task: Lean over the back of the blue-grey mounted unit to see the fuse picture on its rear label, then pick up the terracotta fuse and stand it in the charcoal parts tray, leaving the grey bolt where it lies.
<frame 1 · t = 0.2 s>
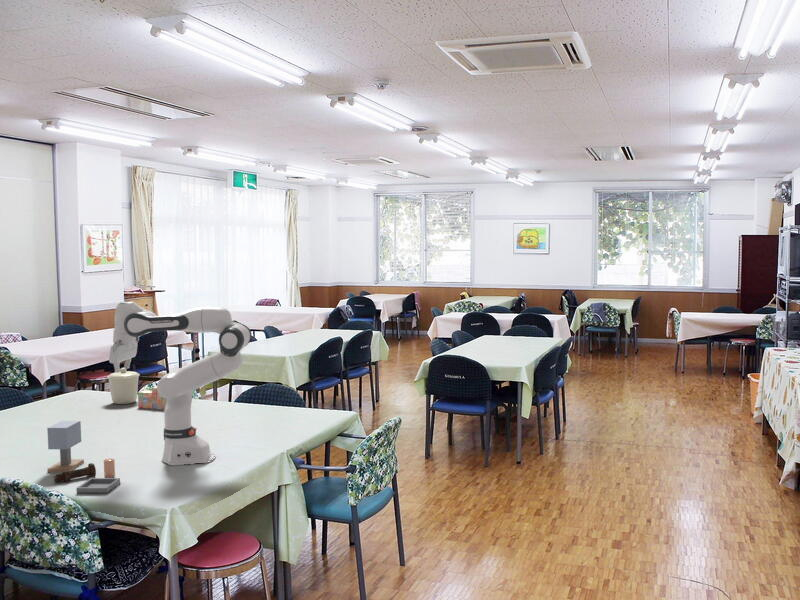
hand: (122, 370, 310), 39 cm above the table, tool pointing down, fingers open, 8 cm apart
mounted unit: (66, 467, 302), on the table
canister: (124, 403, 428), on the table
bolt: (74, 480, 287), on the table
terracotta fuse: (109, 476, 289), on the table
stack of blocks: (157, 408, 414), on the table
parts tray: (98, 488, 275), on the table
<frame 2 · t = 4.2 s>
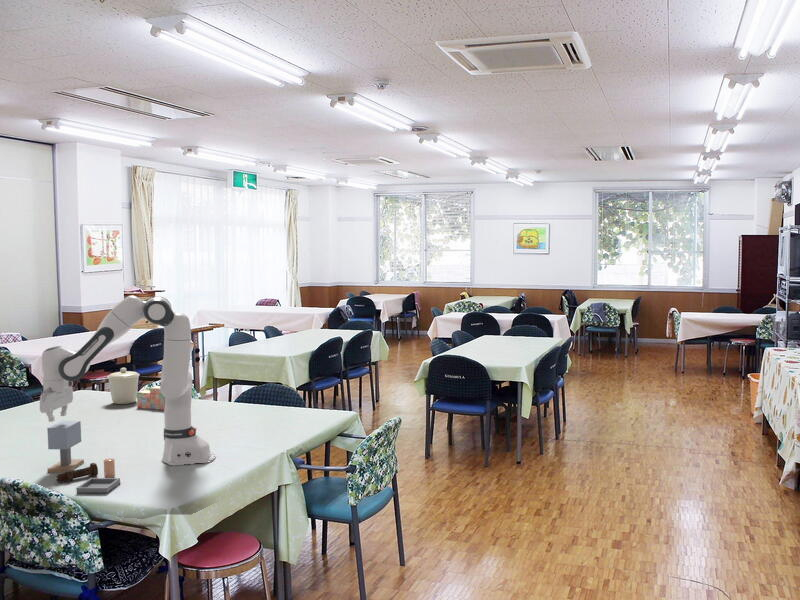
hand: (57, 418, 298), 22 cm above the table, tool pointing down, fingers open, 8 cm apart
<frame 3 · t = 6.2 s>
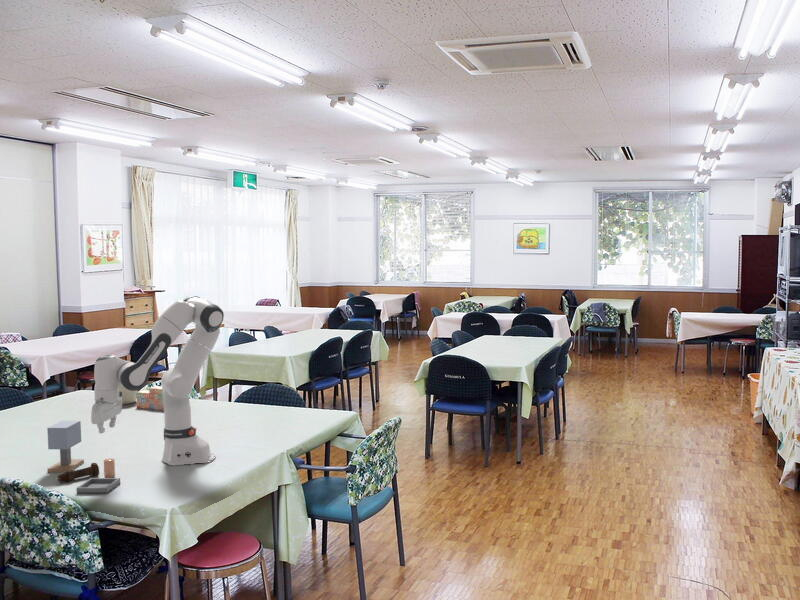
hand: (107, 429, 288), 19 cm above the table, tool pointing down, fingers open, 8 cm apart
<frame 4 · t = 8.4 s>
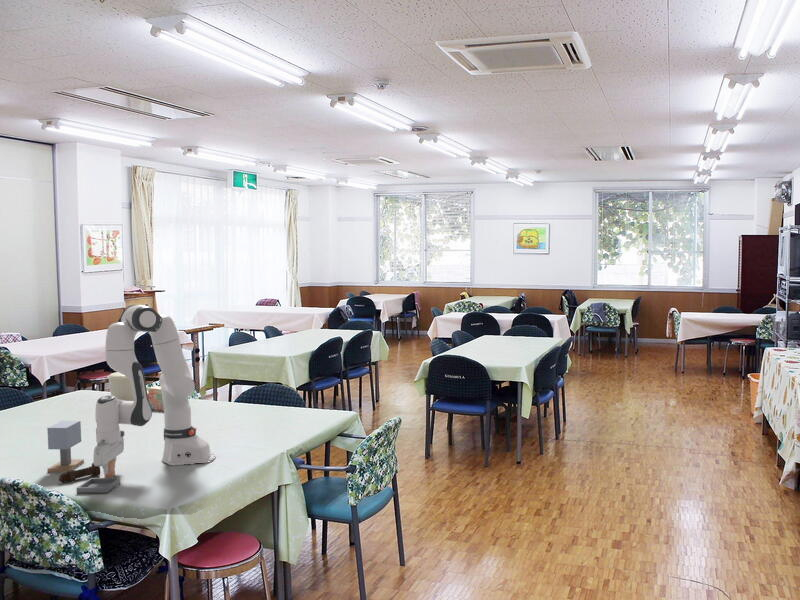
hand: (109, 470, 289), 3 cm above the table, tool pointing down, fingers closed on terracotta fuse, 4 cm apart
terracotta fuse: (109, 476, 289), on the table, touching gripper
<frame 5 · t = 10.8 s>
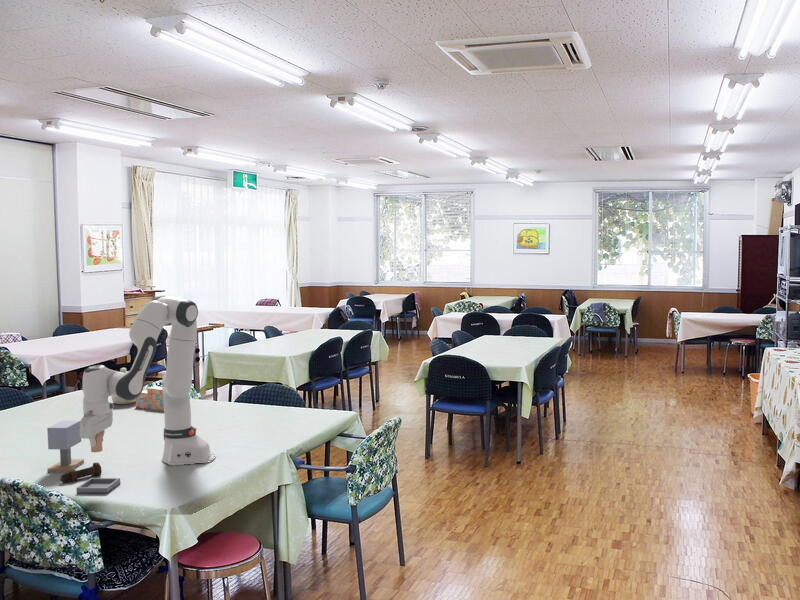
hand: (96, 444, 274), 17 cm above the table, tool pointing down, fingers closed on terracotta fuse, 4 cm apart
terracotta fuse: (96, 450, 274), point 15 cm above the table, touching gripper
when the fingers open (5 cm above the table, at t = 13.5 s): terracotta fuse drops 1 cm, resting on parts tray.
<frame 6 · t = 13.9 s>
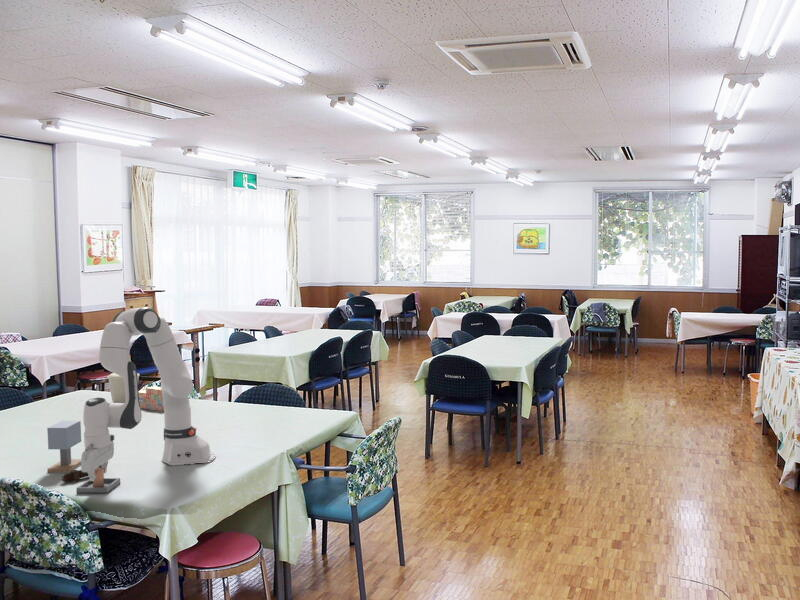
hand: (98, 476, 275), 5 cm above the table, tool pointing down, fingers open, 8 cm apart
terracotta fuse: (98, 486, 275), point 1 cm above the table, touching parts tray
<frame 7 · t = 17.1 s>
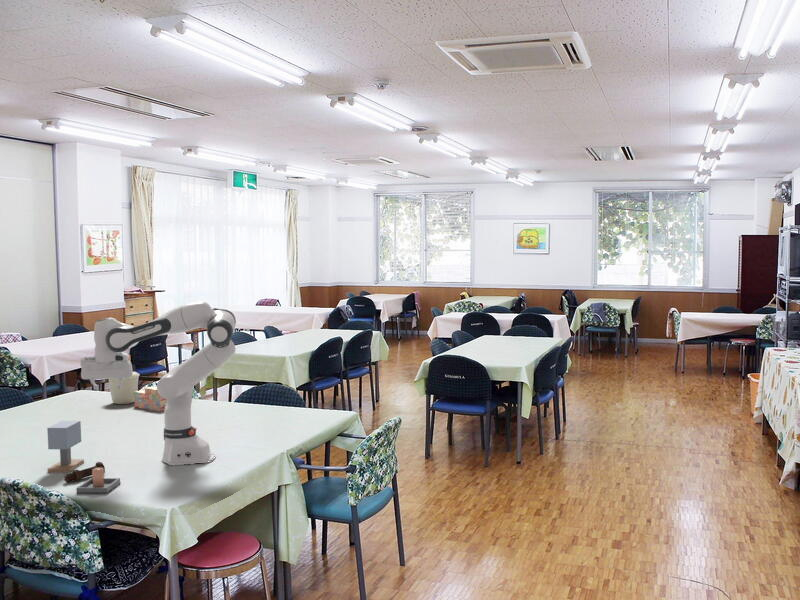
hand: (107, 388, 303), 33 cm above the table, tool pointing down, fingers open, 8 cm apart
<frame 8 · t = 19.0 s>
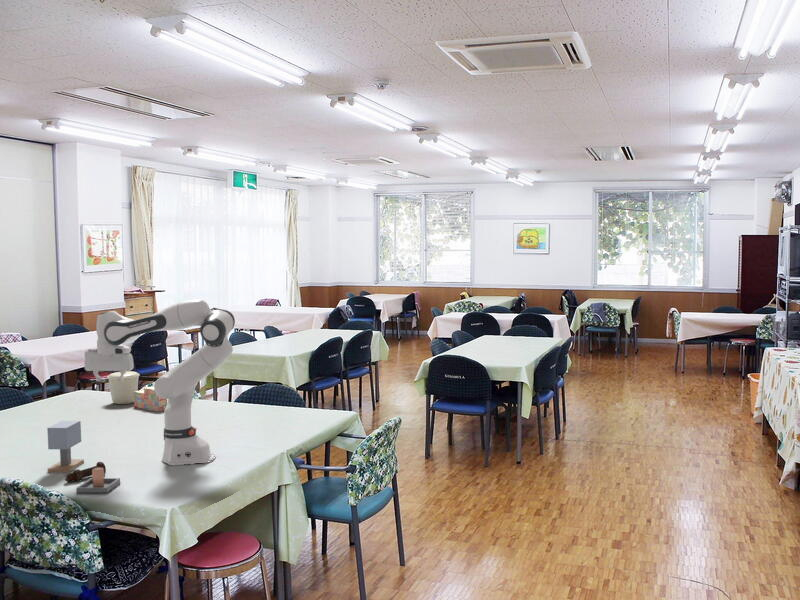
hand: (109, 381, 308), 35 cm above the table, tool pointing down, fingers open, 8 cm apart
at the end: terracotta fuse inside the target area on the parts tray (0.2 cm from its centre), point 0.6 cm above the parts tray's base; terracotta fuse tilted 0°; the gripper is holding nothing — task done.
